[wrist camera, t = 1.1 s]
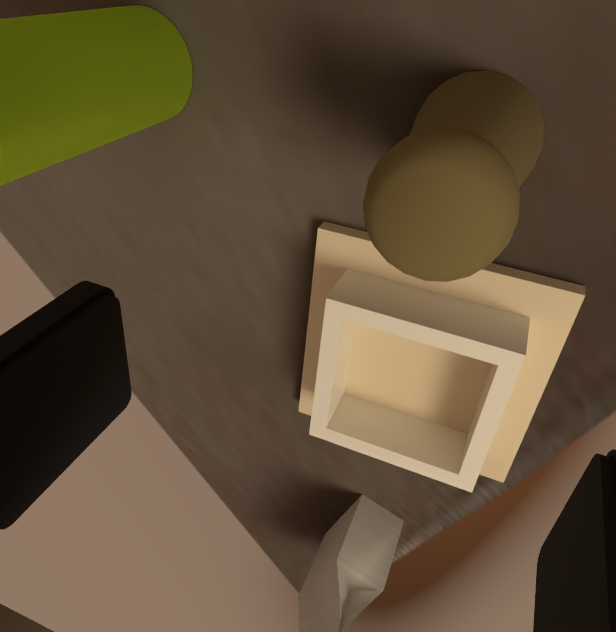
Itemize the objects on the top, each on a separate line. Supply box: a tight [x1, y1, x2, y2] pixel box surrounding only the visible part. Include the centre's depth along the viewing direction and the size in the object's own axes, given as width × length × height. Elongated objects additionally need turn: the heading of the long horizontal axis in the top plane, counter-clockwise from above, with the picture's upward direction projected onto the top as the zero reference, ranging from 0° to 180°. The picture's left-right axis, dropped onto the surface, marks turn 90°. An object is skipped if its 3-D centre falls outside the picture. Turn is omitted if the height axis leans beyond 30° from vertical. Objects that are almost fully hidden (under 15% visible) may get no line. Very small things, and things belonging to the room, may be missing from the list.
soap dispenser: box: [0, 5, 193, 186], centre depth 23 cm, size 6×7×20 cm
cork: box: [363, 70, 544, 282], centre depth 22 cm, size 6×6×11 cm
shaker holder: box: [299, 221, 585, 492], centre depth 32 cm, size 14×14×4 cm
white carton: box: [298, 494, 404, 632], centre depth 40 cm, size 4×7×10 cm, turn 154°
